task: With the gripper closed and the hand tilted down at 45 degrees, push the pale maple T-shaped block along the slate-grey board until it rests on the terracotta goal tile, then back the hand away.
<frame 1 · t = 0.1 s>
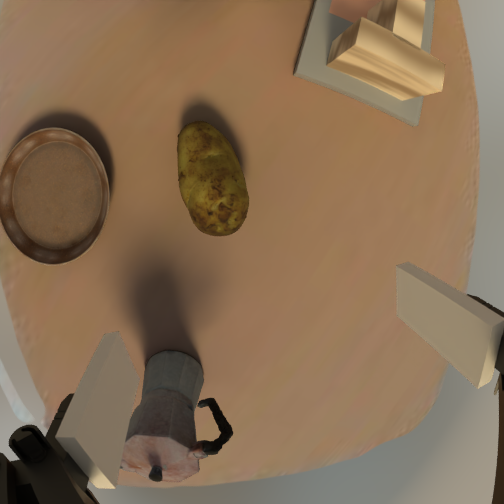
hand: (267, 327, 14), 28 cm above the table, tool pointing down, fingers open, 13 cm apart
moka pot: (175, 370, 46), on the table
potato: (211, 175, 39), on the table
board: (375, 17, 36), on the table
t block: (369, 70, 36), point 1 cm above the table, touching board
plant saucer: (56, 195, 37), on the table
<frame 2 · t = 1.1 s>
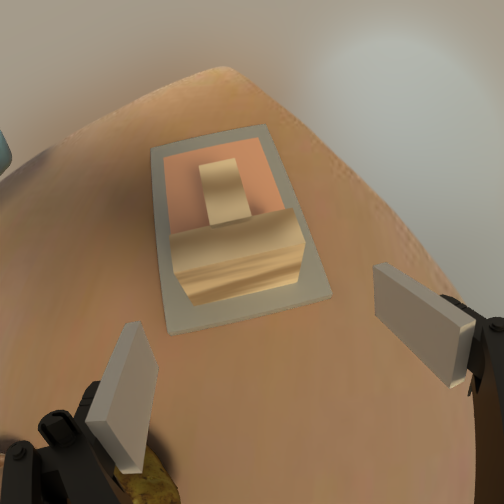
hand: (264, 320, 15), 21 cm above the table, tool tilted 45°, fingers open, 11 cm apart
potato: (144, 471, 28), on the table
board: (225, 213, 44), on the table
t block: (241, 278, 37), point 1 cm above the table, touching board
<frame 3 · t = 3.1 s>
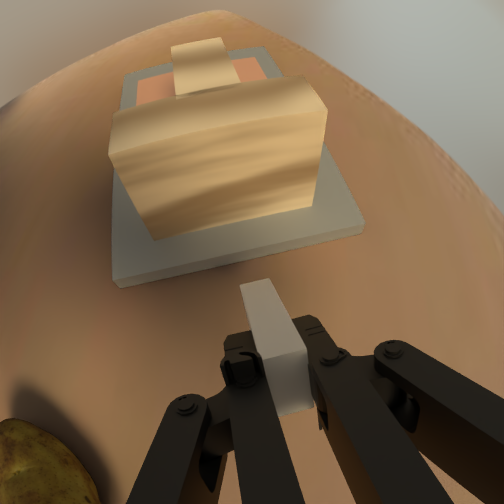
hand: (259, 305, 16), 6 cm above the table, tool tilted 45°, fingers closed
potato: (77, 494, 16), on the table
board: (210, 130, 31), on the table
t block: (228, 201, 25), point 1 cm above the table, touching board
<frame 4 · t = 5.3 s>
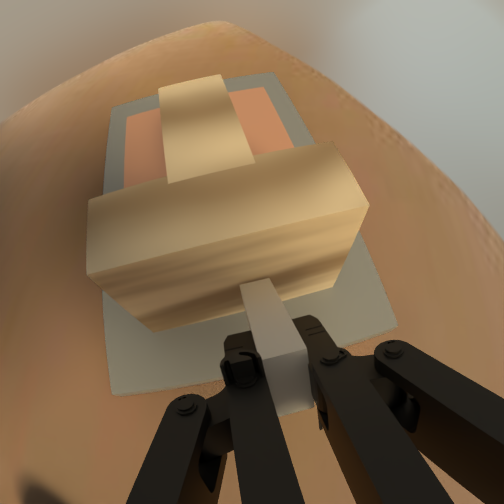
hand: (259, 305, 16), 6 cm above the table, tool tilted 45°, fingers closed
board: (214, 190, 27), on the table
t block: (236, 283, 21), point 2 cm above the table
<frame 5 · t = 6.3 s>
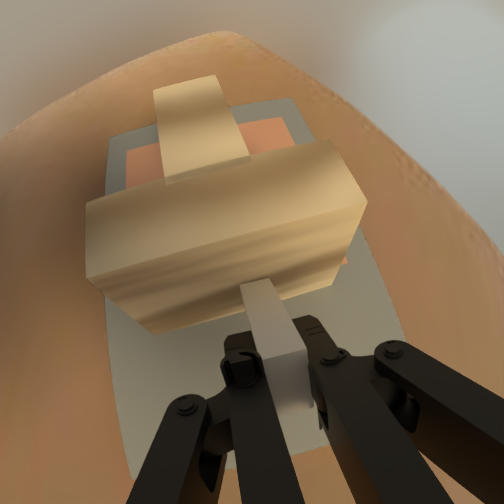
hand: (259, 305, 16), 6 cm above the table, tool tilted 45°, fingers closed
board: (230, 248, 24), on the table
t block: (235, 283, 21), point 2 cm above the table, touching gripper
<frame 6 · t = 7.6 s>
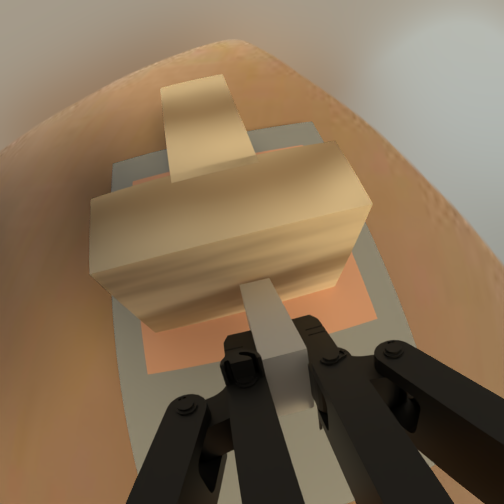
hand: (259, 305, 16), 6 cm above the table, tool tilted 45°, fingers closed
board: (251, 299, 22), on the table
t block: (238, 283, 21), point 2 cm above the table, touching board, gripper
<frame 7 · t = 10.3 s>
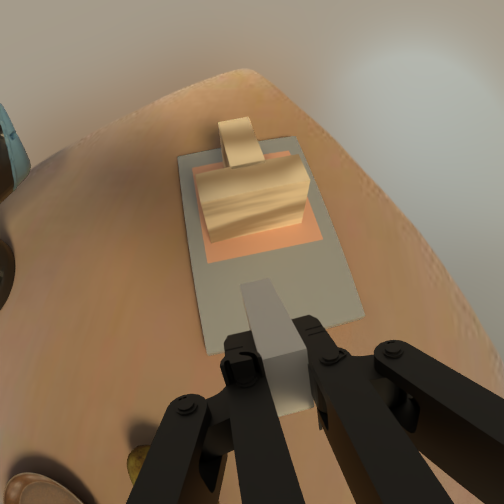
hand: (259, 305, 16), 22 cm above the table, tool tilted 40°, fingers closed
potato: (182, 486, 30), on the table
board: (259, 230, 44), on the table
t block: (253, 219, 43), point 1 cm above the table, touching board
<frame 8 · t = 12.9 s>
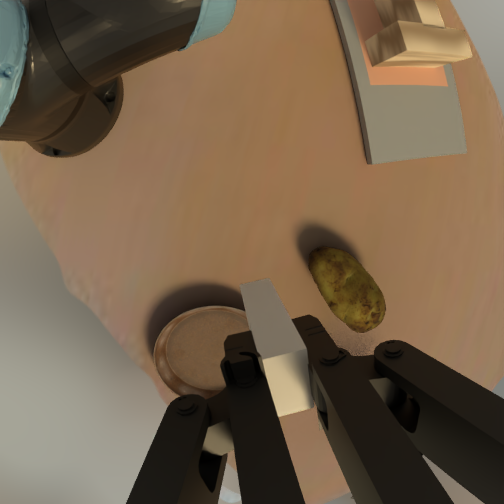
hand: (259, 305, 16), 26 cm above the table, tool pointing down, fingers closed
potato: (338, 278, 46), on the table
board: (401, 62, 38), on the table
t block: (402, 54, 37), point 1 cm above the table, touching board
plant saucer: (214, 350, 47), on the table
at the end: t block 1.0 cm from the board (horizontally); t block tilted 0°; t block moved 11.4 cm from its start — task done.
